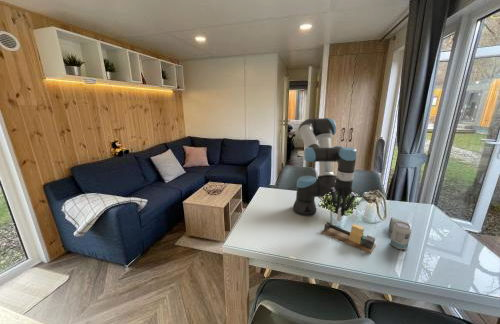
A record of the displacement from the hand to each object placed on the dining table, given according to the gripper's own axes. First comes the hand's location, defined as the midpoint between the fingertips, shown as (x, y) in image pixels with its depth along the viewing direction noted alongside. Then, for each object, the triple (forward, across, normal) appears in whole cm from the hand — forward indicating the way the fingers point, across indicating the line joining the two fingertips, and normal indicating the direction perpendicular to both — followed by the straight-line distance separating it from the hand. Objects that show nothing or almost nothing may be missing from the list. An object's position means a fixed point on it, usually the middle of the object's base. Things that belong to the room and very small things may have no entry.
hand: (339, 219), depth 108 cm
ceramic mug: (+9, +22, +26) cm, 35 cm away
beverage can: (+9, +26, +11) cm, 29 cm away
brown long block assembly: (+9, +6, -1) cm, 10 cm away
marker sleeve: (+7, +9, -1) cm, 12 cm away
